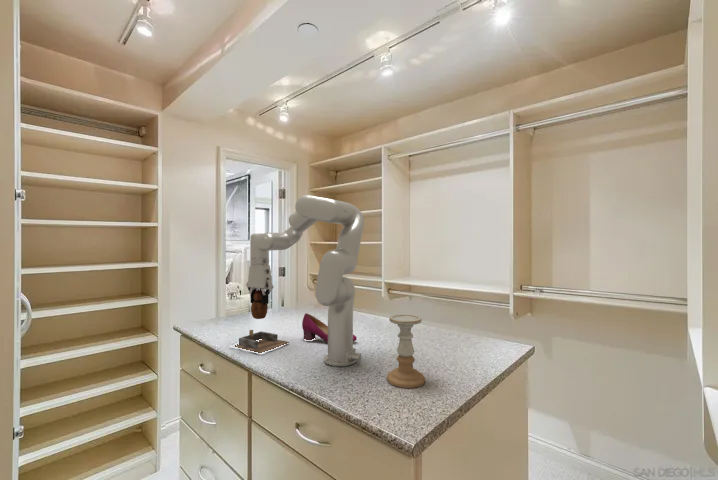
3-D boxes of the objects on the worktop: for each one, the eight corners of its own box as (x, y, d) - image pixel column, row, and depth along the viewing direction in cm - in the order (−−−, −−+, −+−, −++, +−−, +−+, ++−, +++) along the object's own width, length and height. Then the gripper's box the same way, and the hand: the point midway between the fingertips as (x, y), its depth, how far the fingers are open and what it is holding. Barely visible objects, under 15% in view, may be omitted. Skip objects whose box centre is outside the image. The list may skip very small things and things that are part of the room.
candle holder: (378, 380, 105) (378, 317, 105) (402, 369, 114) (402, 312, 114) (409, 392, 96) (409, 324, 96) (432, 380, 105) (432, 317, 105)
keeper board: (288, 344, 142) (288, 330, 142) (260, 355, 128) (260, 339, 128) (258, 338, 152) (258, 325, 152) (229, 347, 138) (229, 333, 138)
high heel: (355, 346, 140) (355, 317, 140) (298, 343, 144) (298, 316, 144) (358, 340, 148) (358, 313, 148) (304, 338, 152) (304, 311, 152)
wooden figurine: (269, 316, 143) (269, 282, 143) (264, 320, 137) (264, 284, 137) (254, 316, 143) (254, 282, 144) (249, 319, 138) (249, 284, 138)
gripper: (280, 262, 139) (280, 303, 139) (252, 261, 148) (252, 300, 148) (267, 263, 133) (267, 306, 133) (238, 261, 142) (238, 303, 141)
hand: (259, 303), depth 140 cm, fingers closed on wooden figurine, 6 cm apart
